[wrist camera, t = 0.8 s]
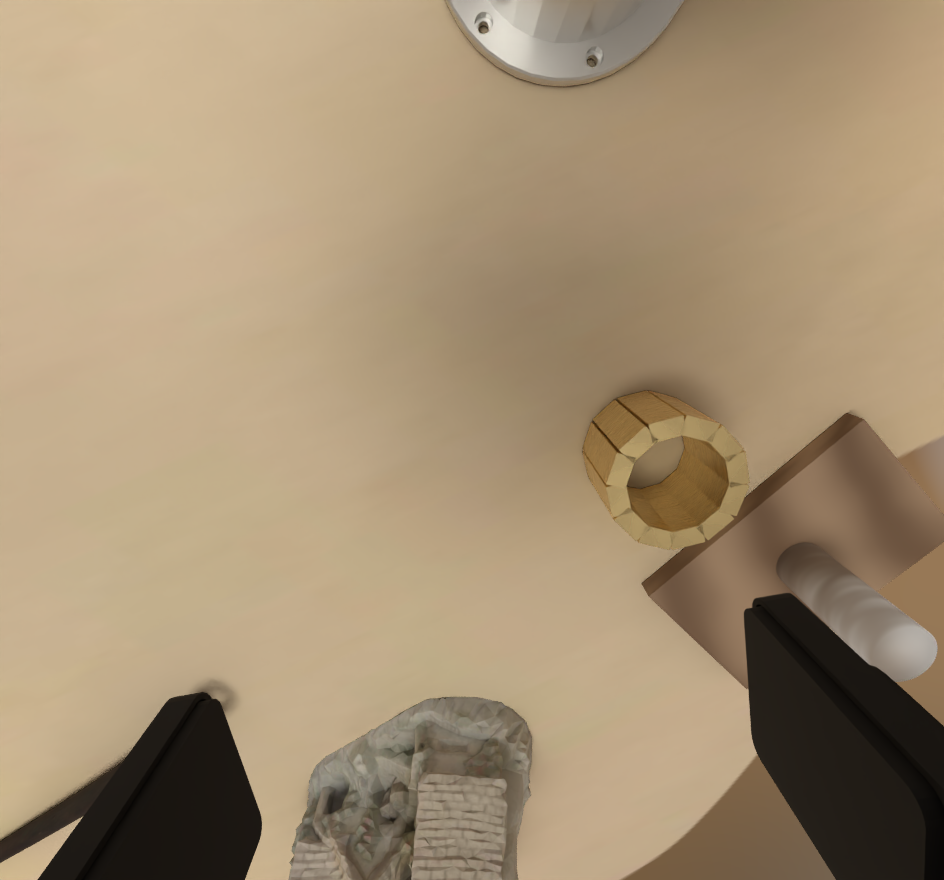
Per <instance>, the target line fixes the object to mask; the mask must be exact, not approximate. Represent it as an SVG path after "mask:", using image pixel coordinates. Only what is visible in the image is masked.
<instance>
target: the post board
mask: <svg viewBox="0 0 944 880" xmlns="http://www.w3.org/2000/svg"><path fill="white" fill-rule="evenodd" d="M731 516H732V517H733V518H734V520H732V521H731V522H730V523H729V524H728V525H726V526H725V527H724V528H723V529H722V530H720V531H719V532H718V533H717V534H716V535H714V536H713V537H712V538H711V539H709V540H707V539H706V538H705V542H703V543H699V544H695V545H691V546H687V547H685V548H684V549H683V550H682V551H680V552H679V553H678V554H677V555H676V556H674V557H673V558H672V559H671V560H670V561H668V562H667V563H666V564H665V565H664V566H662V567H661V568H660V569H659V570H658V571H656V572H655V573H654V574H653V575H651V576H650V577H649V578H648V579H647V580H645V581H644V582H643V583H642V585H643V587H644V589H645V591H646V592H647V594H648V596H649V597H650V598H651V599H652V600H653V601H654V602H655V603H656V604H657V605H658V606H659V607H660V608H661V609H663V610H664V611H665V612H666V613H667V614H668V615H669V616H670V617H671V618H672V619H673V620H674V621H675V622H676V623H677V624H678V625H679V626H680V627H682V628H683V629H684V630H685V631H686V632H687V633H688V634H689V635H690V636H691V637H692V638H693V639H694V640H695V641H696V642H697V643H698V644H699V645H701V646H702V647H703V648H704V649H705V650H706V651H707V652H708V653H709V654H710V655H711V656H712V657H713V658H714V659H715V660H716V661H717V662H718V663H720V664H721V665H722V666H723V667H724V668H725V669H726V670H727V671H728V672H729V673H730V674H731V675H732V676H733V677H734V678H735V679H736V680H737V681H739V682H740V683H741V684H742V685H743V686H744V687H745V688H746V689H747V688H748V674H747V659H746V644H745V629H744V611H745V609H747V608H752V603H753V600H754V599H755V598H759V597H765V596H770V595H776V594H782V593H791V594H792V595H794V596H795V597H796V598H797V599H799V600H800V601H801V602H802V603H803V604H804V605H805V606H806V607H807V608H808V609H809V610H810V611H812V612H813V613H814V614H815V615H816V616H817V617H818V618H819V619H820V620H821V621H822V622H823V623H825V624H826V625H827V626H828V627H830V628H831V629H832V630H833V631H834V632H835V633H836V634H837V635H838V636H839V637H840V638H841V639H842V640H843V641H844V642H845V643H846V644H847V645H848V646H849V647H851V648H852V649H853V650H854V651H855V652H856V653H857V654H858V655H859V656H860V657H861V658H862V659H864V660H865V661H866V662H867V663H868V664H869V665H872V666H875V667H877V668H879V669H880V670H881V671H883V672H884V673H886V674H887V675H888V676H889V677H890V678H891V679H892V680H893V681H894V682H900V681H907V680H911V679H913V678H915V677H917V676H919V675H921V674H922V673H924V672H925V671H926V670H927V669H928V668H929V667H930V666H931V665H932V663H933V662H934V660H935V658H936V655H937V643H936V640H935V638H934V637H933V636H932V634H931V633H929V632H928V631H927V630H925V629H924V628H923V627H921V626H920V625H919V624H918V623H916V622H915V621H914V620H913V619H911V618H910V617H909V616H907V615H906V614H905V613H903V612H902V611H901V610H899V609H898V608H897V607H896V606H895V605H893V604H892V603H891V602H889V601H888V600H887V599H885V598H884V597H883V596H881V595H880V594H879V593H878V592H877V591H879V590H880V589H881V588H883V587H884V586H885V585H887V584H888V583H889V582H891V581H892V580H893V579H895V578H896V577H897V576H899V575H900V574H901V573H903V572H904V571H905V570H907V569H908V568H909V567H911V566H912V565H913V564H915V563H916V562H918V561H919V560H920V559H922V558H923V557H924V556H925V555H927V554H928V553H930V552H931V551H932V550H934V549H935V548H936V547H938V546H939V545H940V544H942V543H943V542H944V514H943V513H942V512H941V511H940V510H939V509H938V507H937V506H936V505H935V504H934V502H933V501H932V500H931V499H930V498H929V497H928V495H927V494H926V493H925V492H924V490H923V489H922V488H921V487H920V486H919V485H918V483H917V482H916V481H915V480H914V479H913V477H912V476H911V475H910V474H909V473H908V471H907V470H906V469H905V468H904V467H903V465H902V464H901V463H900V462H899V461H898V459H897V458H896V457H895V456H894V455H893V453H892V452H891V451H890V450H889V449H888V447H887V446H886V445H885V444H884V443H883V442H882V440H881V439H880V438H879V437H878V436H877V434H876V433H875V432H874V431H873V430H872V428H871V427H870V426H869V425H868V424H867V422H866V421H865V420H864V419H862V418H859V417H856V416H853V415H851V414H848V413H846V414H845V415H844V416H843V417H841V418H840V419H839V420H838V421H837V422H835V423H834V424H833V425H832V426H831V427H829V428H828V429H827V430H826V431H825V432H823V433H822V434H821V435H820V436H819V437H817V438H816V439H815V440H814V441H813V442H811V443H810V444H809V445H808V446H807V447H805V448H804V449H803V450H802V451H801V452H799V453H798V454H797V455H796V456H795V457H793V458H792V459H791V460H790V461H789V462H787V463H786V464H785V465H784V466H783V467H781V468H780V469H779V470H778V471H776V472H775V473H774V474H773V475H772V476H770V477H769V478H768V479H767V480H766V481H764V482H763V483H762V484H761V485H760V486H758V487H757V488H756V489H755V490H754V491H752V492H751V493H750V494H749V495H748V496H746V497H745V498H744V500H743V502H742V504H741V507H740V509H739V511H738V514H737V516H734V515H731Z"/></svg>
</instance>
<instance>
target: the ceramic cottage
mask: <svg viewBox="0 0 944 880" xmlns="http://www.w3.org/2000/svg"><path fill="white" fill-rule="evenodd" d="M531 757H532V736H531V734H530V731H529V729H528V726H527V722H525V720H524V719H523V718H522V717H520V716H519V715H518V714H517V713H516V712H515V711H514V710H513V709H511V708H509V707H506V706H505V705H504V704H503V703H502V702H498V701H492V700H488V699H483V698H478V697H447V698H446V699H444V698H441V699H440V700H439V699H429V700H424V701H422V702H420V703H418V704H416V705H415V707H414V706H413V707H411V708H410V709H407V710H406V711H404V712H403V713H401V714H400V715H399V714H398V716H396V717H394V718H393V719H392V720H389V721H387V722H385V723H384V724H382V725H380V726H379V727H377V728H376V729H372V730H370V731H369V732H368V733H367V734H365V736H361V737H359V738H358V739H356V740H354V741H353V742H351V743H349V744H347V745H345V746H344V747H343V748H340V749H339V750H337V751H335V752H333V753H332V754H330V755H328V756H326V757H325V758H324V759H323V760H322V761H321V762H320V763H318V764H317V765H316V767H315V769H314V771H313V773H312V774H311V779H310V781H309V789H308V791H309V796H308V798H309V800H308V803H307V806H308V808H307V810H306V812H305V814H304V816H303V818H302V823H301V824H300V825H299V826H298V828H297V829H296V838H295V841H294V844H293V846H292V852H293V854H294V857H293V858H292V860H291V861H290V864H291V870H290V875H289V880H518V874H517V836H518V833H519V829H520V824H521V820H522V815H523V808H524V805H525V802H526V801H527V800H528V798H529V797H530V796H531V793H530V789H529V783H530V780H529V770H530V766H531Z"/></svg>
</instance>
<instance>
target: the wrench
mask: <svg viewBox="0 0 944 880" xmlns="http://www.w3.org/2000/svg"><path fill="white" fill-rule="evenodd" d="M122 763H123V762H122ZM122 763H121V764H122ZM121 764H119V765H118V766H116V767H115V768H113V769H112V770H110V771H109V772H107V773H106V774H105V775H103V776H102V777H100V778H99V779H97V780H96V781H94V782H93V783H91V784H90V785H88V786H87V787H85V788H84V789H82V790H81V791H79V792H77V793H76V794H74V795H73V796H71V797H70V798H68V799H67V800H65V801H64V802H62V803H61V804H59V805H58V806H56V807H54V808H53V809H51V810H50V811H48V812H47V813H45V814H43V815H42V816H40V817H39V818H37V819H35V820H34V821H32V822H31V823H29V824H27V825H26V826H24V827H23V828H21V829H19V830H18V831H16V832H15V833H13V834H11V835H10V836H8V837H7V838H5V839H3V840H2V841H0V863H1V862H3V861H4V860H6V859H8V858H10V857H12V856H14V855H15V854H17V853H19V852H21V851H22V850H24V849H26V848H28V847H30V846H32V845H33V844H35V843H37V842H39V841H40V840H42V839H44V838H45V837H47V836H49V835H51V834H53V833H55V832H56V831H58V830H60V829H61V828H63V827H65V826H67V825H68V824H70V823H72V822H74V821H75V820H77V819H79V818H81V817H82V816H84V815H85V814H86V812H87V811H88V809H89V808H90V807H91V805H92V804H93V803H94V801H95V800H96V798H97V797H98V796H99V794H100V793H101V792H102V790H103V789H104V787H105V786H106V785H107V783H108V782H109V781H110V779H111V778H112V776H113V775H114V774H115V772H116V771H117V769H118V768H119V767H120V765H121Z"/></svg>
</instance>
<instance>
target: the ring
mask: <svg viewBox="0 0 944 880" xmlns="http://www.w3.org/2000/svg"><path fill="white" fill-rule="evenodd" d="M617 401H618V402H617ZM617 401H615V400H613V401H612V402H611V403H610V404H609V405H608V406H607V407H606V408H605V409H604V410H602V411H601V412H600V413H599V414H598V415H597V416H596V417H595V418H594V419H593V420H594V422H595V423H593V422H591V424H590V427H589V430H588V433H587V436H586V439H585V442H584V445H583V450H584V451H582V452H583V456H584V461H585V465H586V469H587V474H588V477H589V479H590V481H591V482H592V484H593V486H594V487H595V489H596V491H597V492H598V494H599V496H600V497H601V499H602V501H603V502H604V504H605V506H606V507H607V509H608V511H609V512H610V514H611V516H612V517H613V519H614V520H615V521H616V522H617V523H618V524H619V525H620V526H621V527H622V528H623V529H624V530H625V531H626V532H627V533H628V534H629V535H630V536H631V537H632V538H633V539H634V540H635V541H638V543H642V544H646V545H650V546H655V547H659V548H663V549H667V550H670V548H672V550H675V549H679V548H683V547H687V546H691V545H695V544H699V543H703V542H705V538H706V539H707V540H709V539H711V538H712V537H713V536H714V535H716V534H717V533H718V532H719V531H720V530H722V529H723V528H724V527H725V526H726V525H728V524H729V523H730V522H731V521H732V520H734V518H733V517H732V516H731V515H734V516H737V514H738V511H739V509H740V507H741V504H742V502H743V500H744V497H745V495H746V493H747V490H748V488H749V485H747V483H750V480H749V473H748V466H747V459H746V452H745V451H744V450H743V449H744V448H743V447H742V446H741V445H740V444H739V443H738V442H737V441H736V439H735V438H734V437H733V436H732V435H731V434H730V433H729V432H728V431H727V430H726V429H725V427H724V426H723V425H721V424H719V423H718V422H716V421H714V420H713V419H711V418H709V417H708V416H706V415H704V414H703V413H701V412H699V411H697V410H696V409H694V408H692V407H691V406H689V405H687V404H686V403H684V402H682V401H681V400H679V399H677V398H675V397H672V396H668V395H664V394H660V393H656V392H652V391H649V390H648V392H647V391H641V392H638V393H634V394H630V395H626V396H623V397H619V398H617ZM679 436H683V442H684V448H685V449H684V452H683V454H682V457H681V460H680V462H679V465H678V467H677V469H676V470H675V471H674V472H673V473H672V474H671V475H669V476H668V477H667V478H666V479H665V480H664V481H662V482H661V483H660V484H657V485H653V486H649V487H645V488H641V489H636V488H632V487H628V486H626V485H627V482H628V480H629V477H630V474H631V471H632V468H633V466H634V463H635V461H636V460H637V459H638V458H639V457H640V456H641V455H643V454H644V453H645V452H646V451H647V450H648V449H649V448H650V447H652V446H653V445H654V444H655V443H656V442H660V441H664V440H668V439H671V438H675V437H679Z"/></svg>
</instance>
